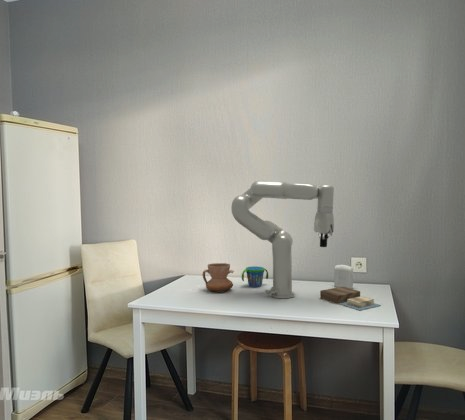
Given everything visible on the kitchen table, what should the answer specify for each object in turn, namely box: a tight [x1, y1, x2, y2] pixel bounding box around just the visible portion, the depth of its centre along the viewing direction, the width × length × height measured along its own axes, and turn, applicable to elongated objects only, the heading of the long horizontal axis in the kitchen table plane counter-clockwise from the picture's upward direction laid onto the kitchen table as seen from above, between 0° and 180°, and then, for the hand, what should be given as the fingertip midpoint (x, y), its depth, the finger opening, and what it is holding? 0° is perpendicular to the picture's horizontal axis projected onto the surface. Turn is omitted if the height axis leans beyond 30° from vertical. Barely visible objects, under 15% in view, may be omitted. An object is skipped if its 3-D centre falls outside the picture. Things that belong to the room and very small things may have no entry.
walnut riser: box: [319, 287, 361, 305], centre depth 214 cm, size 15×12×4 cm
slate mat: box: [338, 302, 382, 311], centre depth 203 cm, size 14×13×1 cm
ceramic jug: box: [202, 262, 235, 293], centre depth 234 cm, size 18×14×14 cm
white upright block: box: [333, 264, 354, 289], centre depth 236 cm, size 10×4×12 cm, turn 52°
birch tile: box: [347, 295, 375, 308], centre depth 202 cm, size 10×7×2 cm
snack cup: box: [241, 265, 269, 288], centre depth 243 cm, size 16×10×10 cm
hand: (323, 246), depth 216 cm, fingers closed
